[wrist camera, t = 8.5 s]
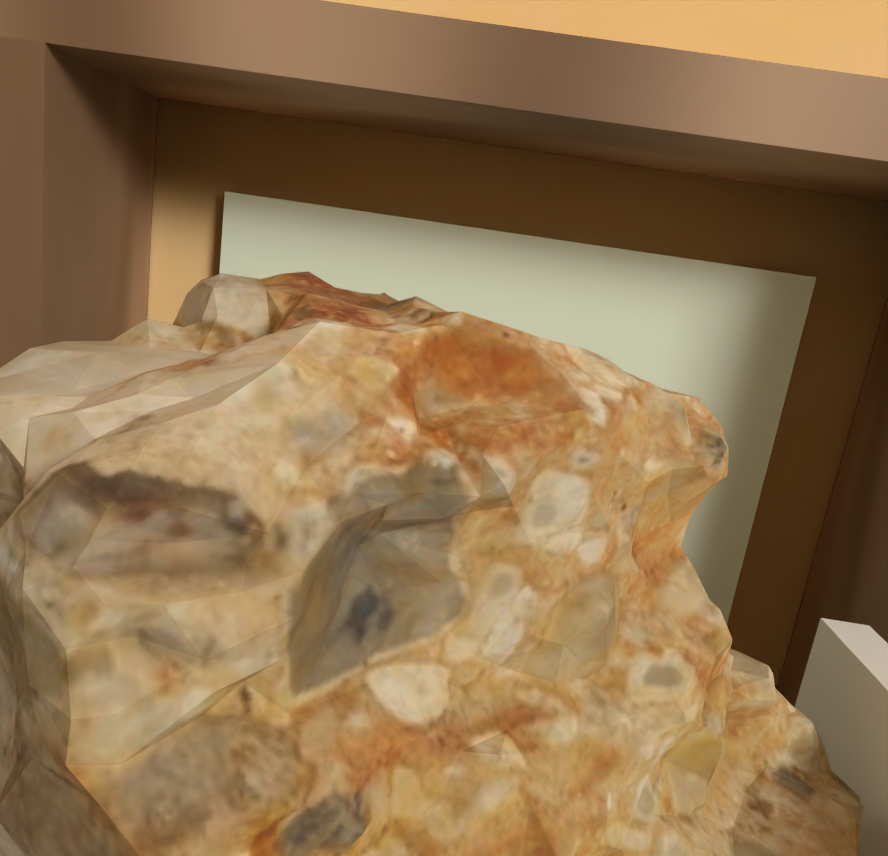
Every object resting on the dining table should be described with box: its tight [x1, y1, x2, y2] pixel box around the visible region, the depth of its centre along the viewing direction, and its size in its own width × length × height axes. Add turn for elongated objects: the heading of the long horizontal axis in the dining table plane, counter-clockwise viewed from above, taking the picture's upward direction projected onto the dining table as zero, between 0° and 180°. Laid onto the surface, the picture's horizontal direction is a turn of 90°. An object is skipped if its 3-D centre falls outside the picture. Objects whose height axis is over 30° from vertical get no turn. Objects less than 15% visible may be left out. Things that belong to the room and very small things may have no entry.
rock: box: [0, 272, 864, 856], centre depth 8 cm, size 12×10×10 cm
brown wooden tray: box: [0, 0, 888, 707], centre depth 13 cm, size 16×18×4 cm
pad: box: [219, 191, 817, 625], centre depth 15 cm, size 11×13×1 cm
